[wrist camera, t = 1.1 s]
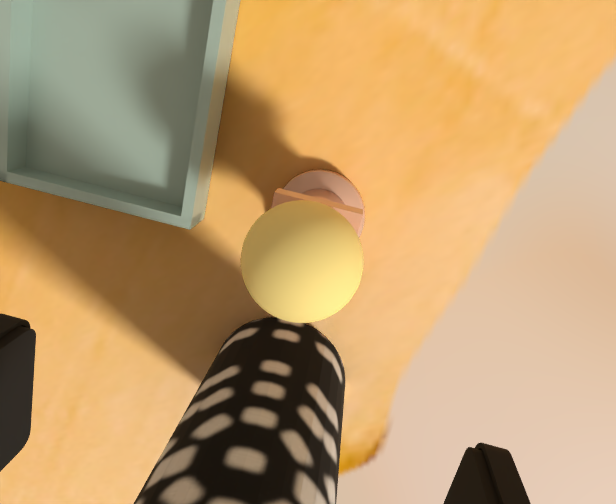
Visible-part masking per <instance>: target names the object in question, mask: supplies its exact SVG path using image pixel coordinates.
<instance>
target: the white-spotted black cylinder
mask: <svg viewBox="0 0 616 504" xmlns="http://www.w3.org/2000/svg"><path fill="white" fill-rule="evenodd" d="M344 391H345V372H344V367H343V364H342V360H341V358H340V356H339V354H338V352H337V351H336V349H335V347H334V346H333V345H332V344H331V342H330V341H329V340H328V339H327V338H326V337H325V336H324V335H322V334H321V333H320V332H319V331H317V330H316V329H314V328H312V327H310V326H309V325H307V324H305V323H294V322H289V321H285V320H282V319H279V318H277V317H275V318H263V319H259V320H254V321H252V322H249V323H247V324H245V325H243V326H241V327H240V328H238V329H237V330H236V331H234V332H233V333H232V334H231V335H230V336H229V337H228V338H227V340H226V341H225V342H224V344H223V346H222V348H221V349H220V351H219V353H218V355H217V356H216V358H215V360H214V362H213V364H212V365H211V367H210V369H209V371H208V372H207V374H206V376H205V378H204V380H203V381H202V383H201V385H200V387H199V388H198V390H197V392H196V394H195V396H194V397H193V399H192V401H191V403H190V404H189V406H188V408H187V410H186V412H185V413H184V415H183V417H182V419H181V420H180V422H179V424H178V426H177V428H176V429H175V431H174V433H173V435H172V436H171V438H170V440H169V442H168V444H167V445H166V447H165V449H164V451H163V453H162V454H161V456H160V458H159V460H158V461H157V463H156V465H155V467H154V469H153V470H152V472H151V474H150V476H149V477H148V479H147V481H146V483H145V485H144V486H143V488H142V490H141V492H140V493H139V495H138V497H137V499H136V501H135V502H134V504H336V497H337V483H338V471H339V458H340V444H341V431H342V418H343V405H344Z"/></svg>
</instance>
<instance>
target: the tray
mask: <svg viewBox="0 0 616 504" xmlns="http://www.w3.org/2000/svg"><path fill="white" fill-rule="evenodd" d="M239 5H240V0H0V181H3V182H7V183H11V184H15V185H19V186H23V187H27V188H30V189H34V190H38V191H42V192H46V193H50V194H54V195H58V196H61V197H65V198H69V199H73V200H77V201H81V202H85V203H89V204H92V205H96V206H100V207H104V208H108V209H112V210H116V211H120V212H123V213H127V214H131V215H135V216H139V217H143V218H147V219H151V220H154V221H158V222H162V223H166V224H170V225H174V226H178V227H182V228H186V229H189V230H190V229H192V228H193V227H194V226H195V225H197V224H198V223H199V222H200V221H202V220H203V219H204V215H205V209H206V203H207V197H208V191H209V185H210V179H211V173H212V167H213V161H214V155H215V149H216V143H217V137H218V131H219V125H220V119H221V113H222V107H223V101H224V95H225V89H226V83H227V77H228V71H229V65H230V59H231V53H232V47H233V41H234V35H235V29H236V23H237V17H238V11H239Z"/></svg>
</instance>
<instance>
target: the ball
mask: <svg viewBox="0 0 616 504" xmlns="http://www.w3.org/2000/svg"><path fill="white" fill-rule="evenodd" d="M363 264H364V260H363V251H362V246H361V243H360V240H359V237H358V235H357V233H356V231H355V229H354V228H353V227H352V225H351V224H350V223H349V222H348V220H347V219H346V218H345V217H344V216H343V215H341V214H340V213H339V212H338V211H336V210H335V209H333V208H331V207H329V206H327V205H325V204H322V203H319V202H315V201H308V200H297V201H290V202H285V203H282V204H280V205H277V206H275V207H273V208H271V209H270V210H268V211H267V212H265V213H264V214H263V215H262V216H261V217H259V218H258V219H257V220H256V222H255V223H254V224H253V225H252V227H251V228H250V230H249V232H248V234H247V236H246V238H245V240H244V243H243V247H242V253H241V271H242V276H243V280H244V283H245V285H246V288H247V290H248V292H249V293H250V295H251V297H252V298H253V299H254V300H255V302H256V303H257V304H258V305H259V306H260V307H261V308H263V309H264V310H265V311H266V312H268V313H269V314H271V315H273V316H275V317H277V318H279V319H282V320H285V321H289V322H294V323H310V322H316V321H320V320H323V319H325V318H328V317H330V316H332V315H333V314H335V313H336V312H338V311H339V310H340V309H342V308H343V307H344V306H345V305H346V304H347V303H348V302H349V301H350V299H351V298H352V297H353V295H354V294H355V292H356V290H357V288H358V286H359V283H360V281H361V277H362V272H363Z"/></svg>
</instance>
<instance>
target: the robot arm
mask: <svg viewBox="0 0 616 504" xmlns="http://www.w3.org/2000/svg"><path fill="white" fill-rule="evenodd" d="M35 343H36V333H35V331H34V330H33V329H30V324H29V322H28V321H26V320H23V319H20V318H16V317H12V316H8V315H5V314H0V471H1V470H2V469H3V468H4V467H5V466H6V465H7V464H8V463H9V462H10V461H11V460H12V459H13V458H14V457H15V456H16V455H17V454H18V453H19V452H20V451H21V449H22V448H23V447H24V446H25V444H26V442H27V440H28V438H29V435H30V430H31V412H32V395H33V378H34V360H35ZM444 504H530V501H529V499H528V496H527V494H526V491H525V488H524V486H523V483H522V481H521V478H520V476H519V474H518V471H517V468H516V466H515V463H514V461H513V458H512V456H511V454H510V452H509V451H508V450H506V449H503V448H499V447H495V446H492V445H488V444H484V443H478V444H477V445H476V447H475V448H471V447H468V448H467V450H466V451H465V453H464V456H463V458H462V460H461V463H460V466H459V468H458V470H457V472H456V475H455V477H454V480H453V482H452V484H451V487H450V489H449V492H448V494H447V497H446V499H445V501H444Z"/></svg>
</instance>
